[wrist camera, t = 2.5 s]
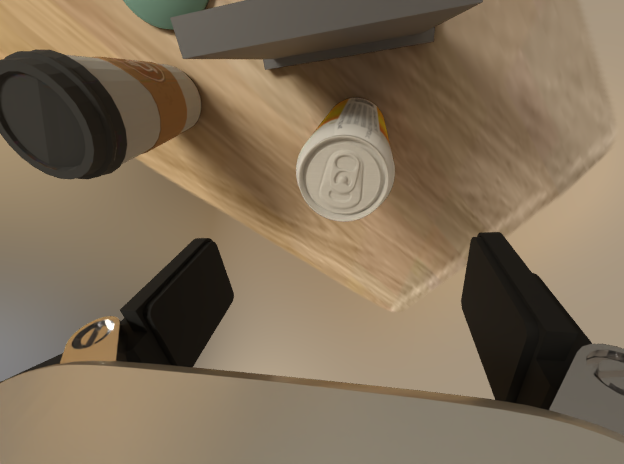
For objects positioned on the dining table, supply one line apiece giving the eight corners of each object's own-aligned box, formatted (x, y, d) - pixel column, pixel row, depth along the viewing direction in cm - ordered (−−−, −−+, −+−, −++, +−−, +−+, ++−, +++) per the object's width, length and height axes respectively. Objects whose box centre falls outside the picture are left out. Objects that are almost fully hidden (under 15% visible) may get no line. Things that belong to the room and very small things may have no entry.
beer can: (321, 153, 31) (288, 217, 18) (330, 92, 28) (296, 119, 15) (376, 162, 30) (381, 235, 18) (391, 101, 27) (410, 137, 14)
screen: (261, 32, 26) (144, 2, 13) (434, -3, 23) (527, -93, 9) (268, 69, 27) (170, 78, 14) (431, 42, 24) (508, 19, 11)
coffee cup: (219, 75, 29) (100, 88, 16) (204, 149, 33) (103, 205, 20) (142, 37, 28) (-45, 19, 15) (137, 118, 32) (-9, 155, 20)
